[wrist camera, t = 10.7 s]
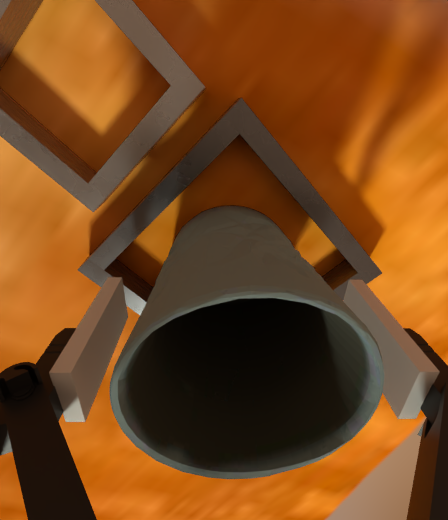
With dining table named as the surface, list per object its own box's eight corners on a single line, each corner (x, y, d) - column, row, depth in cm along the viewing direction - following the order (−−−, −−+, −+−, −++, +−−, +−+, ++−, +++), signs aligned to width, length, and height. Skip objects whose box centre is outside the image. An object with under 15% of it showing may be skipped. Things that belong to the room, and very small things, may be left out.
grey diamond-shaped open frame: (-40, 80, 16) (-71, 77, 14) (57, -88, 13) (33, -117, 12) (104, 202, 19) (93, 212, 18) (206, 88, 17) (205, 86, 15)
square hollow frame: (89, 256, 21) (77, 269, 19) (238, 98, 17) (241, 97, 15) (226, 360, 26) (227, 378, 25) (369, 259, 22) (382, 273, 20)
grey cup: (142, 287, 23) (78, 449, 12) (194, 162, 18) (168, 240, 8) (259, 329, 25) (293, 498, 14) (329, 227, 21) (450, 355, 10)
